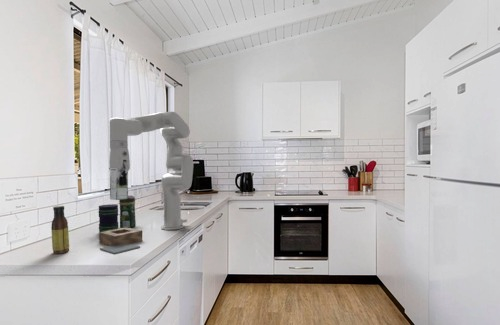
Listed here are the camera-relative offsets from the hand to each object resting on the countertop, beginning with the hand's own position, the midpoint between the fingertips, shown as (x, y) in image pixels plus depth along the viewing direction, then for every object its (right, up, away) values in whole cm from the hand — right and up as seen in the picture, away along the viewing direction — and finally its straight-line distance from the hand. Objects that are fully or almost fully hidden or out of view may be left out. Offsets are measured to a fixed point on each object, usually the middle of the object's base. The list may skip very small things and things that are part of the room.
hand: (119, 184), depth 145 cm
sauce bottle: (-22, -29, -8) cm, 37 cm away
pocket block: (-3, -28, +9) cm, 30 cm away
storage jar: (-18, -28, +29) cm, 44 cm away
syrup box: (0, -7, 0) cm, 7 cm away
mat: (+2, -28, -3) cm, 28 cm away
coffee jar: (-13, -28, +45) cm, 55 cm away
